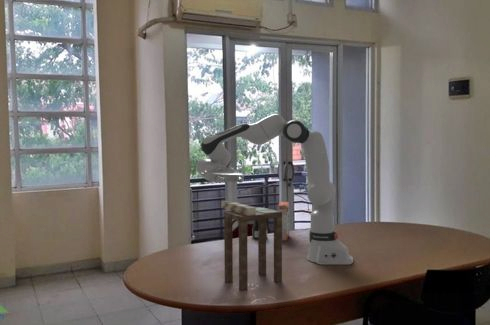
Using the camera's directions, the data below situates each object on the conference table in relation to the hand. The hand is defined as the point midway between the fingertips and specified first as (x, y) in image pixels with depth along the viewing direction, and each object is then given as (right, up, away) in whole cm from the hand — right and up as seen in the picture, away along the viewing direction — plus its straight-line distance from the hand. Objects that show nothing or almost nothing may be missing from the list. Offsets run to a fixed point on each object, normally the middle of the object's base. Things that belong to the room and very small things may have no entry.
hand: (232, 180), depth 211 cm
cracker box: (+28, -37, +60) cm, 76 cm away
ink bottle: (+14, -37, +61) cm, 73 cm away
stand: (+9, -42, -16) cm, 46 cm away
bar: (+2, -12, -17) cm, 21 cm away
